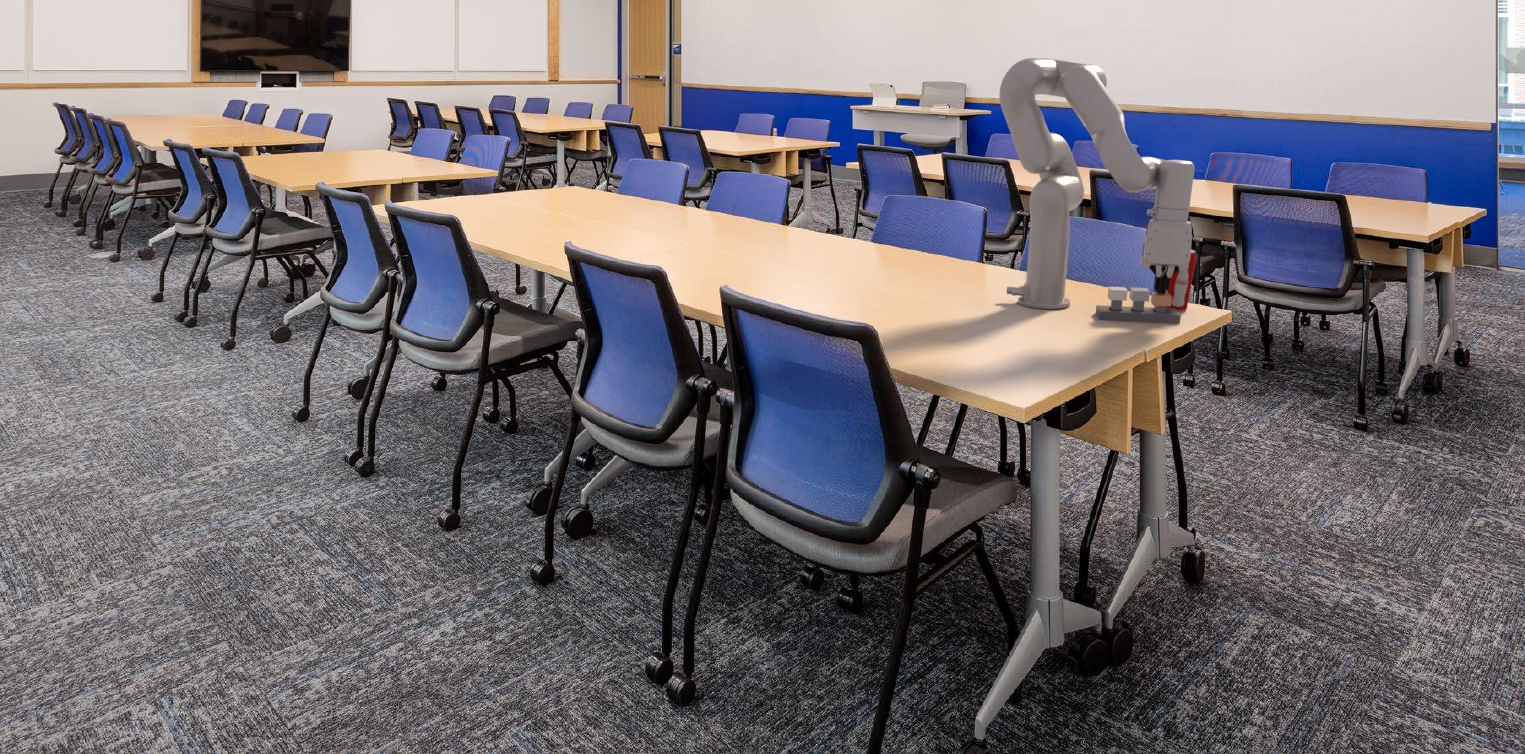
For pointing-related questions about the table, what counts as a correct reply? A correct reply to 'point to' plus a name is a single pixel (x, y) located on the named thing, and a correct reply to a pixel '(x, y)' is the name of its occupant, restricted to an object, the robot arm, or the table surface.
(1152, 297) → the key terracotta
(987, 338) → the table surface
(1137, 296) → the key grey
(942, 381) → the table surface
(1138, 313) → the grey key base
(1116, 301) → the key white
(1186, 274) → the beverage can
